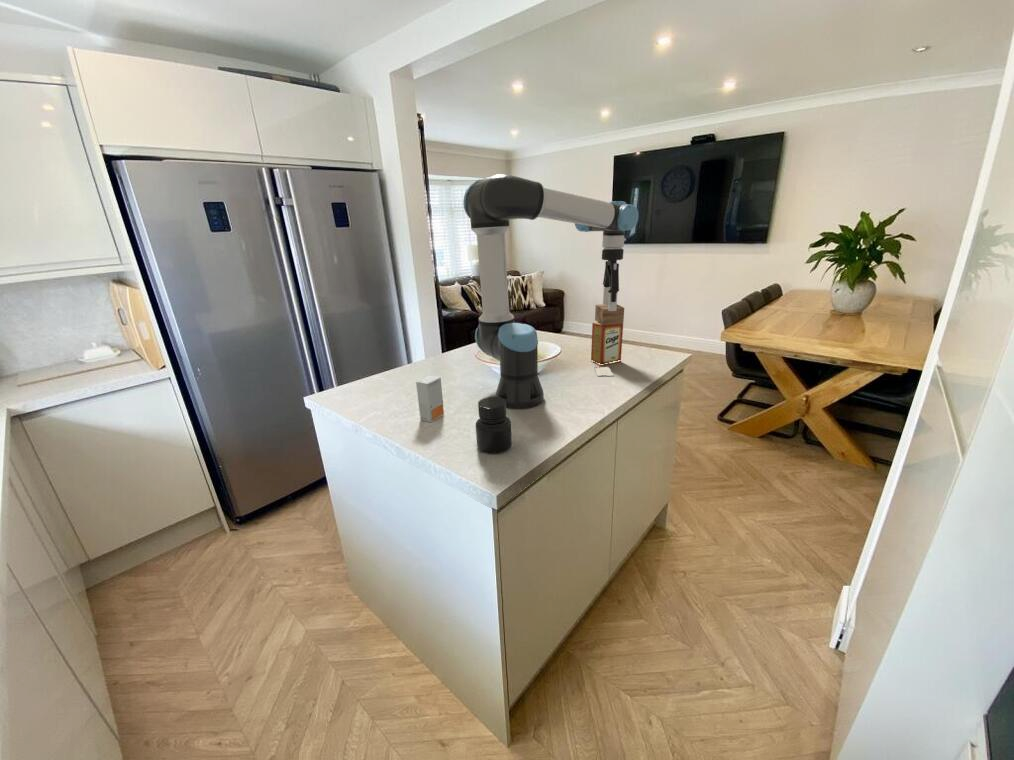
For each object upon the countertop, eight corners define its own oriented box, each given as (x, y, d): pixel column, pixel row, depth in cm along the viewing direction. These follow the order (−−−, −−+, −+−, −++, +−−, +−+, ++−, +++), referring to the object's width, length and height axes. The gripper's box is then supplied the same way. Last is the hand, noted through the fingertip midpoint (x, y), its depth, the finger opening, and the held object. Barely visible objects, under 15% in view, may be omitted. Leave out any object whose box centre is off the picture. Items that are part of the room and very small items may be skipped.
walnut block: (623, 323, 149) (624, 307, 147) (602, 325, 148) (603, 309, 146) (614, 318, 157) (615, 303, 155) (594, 320, 157) (595, 304, 154)
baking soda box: (601, 365, 154) (603, 325, 148) (591, 361, 159) (592, 321, 154) (620, 361, 157) (623, 321, 152) (610, 357, 163) (612, 318, 157)
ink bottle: (514, 437, 104) (513, 394, 100) (513, 455, 96) (511, 410, 92) (477, 437, 105) (474, 395, 100) (473, 455, 97) (469, 410, 92)
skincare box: (431, 423, 113) (426, 384, 109) (420, 420, 116) (415, 381, 111) (445, 414, 118) (441, 377, 114) (434, 412, 120) (429, 374, 116)
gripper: (631, 249, 131) (625, 313, 139) (617, 246, 154) (613, 301, 162) (607, 250, 132) (604, 313, 139) (597, 247, 155) (594, 301, 163)
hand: (609, 307), depth 151 cm, fingers open, 13 cm apart
